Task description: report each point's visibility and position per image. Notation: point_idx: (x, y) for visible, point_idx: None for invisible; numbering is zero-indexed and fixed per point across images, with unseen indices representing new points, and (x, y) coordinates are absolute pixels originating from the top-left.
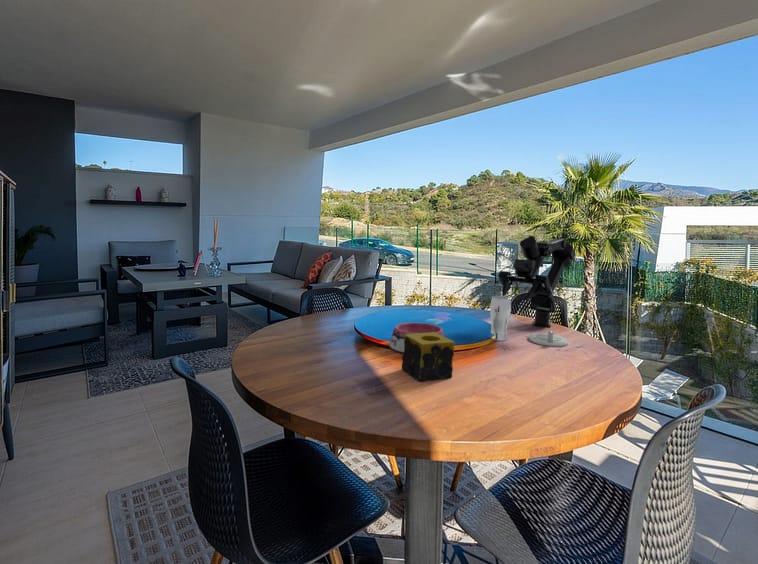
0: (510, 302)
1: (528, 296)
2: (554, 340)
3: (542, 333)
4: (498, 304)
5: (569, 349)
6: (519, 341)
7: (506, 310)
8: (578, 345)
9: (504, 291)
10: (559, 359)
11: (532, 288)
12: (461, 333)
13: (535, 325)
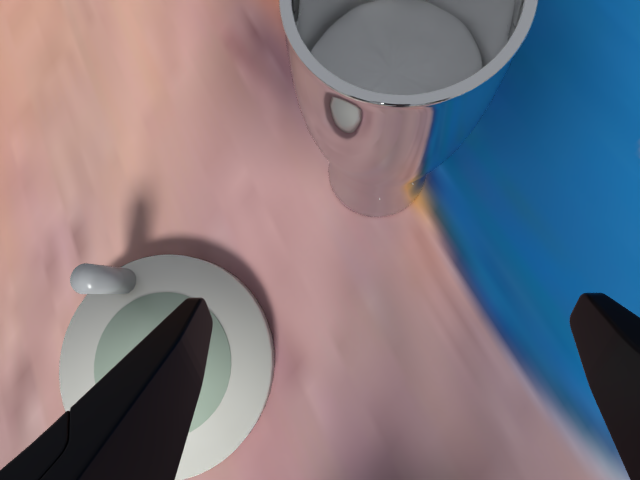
0: (287, 45)
1: (161, 329)
2: (114, 328)
3: (227, 446)
4: None
5: (43, 294)
6: (273, 219)
7: (304, 38)
8: (30, 417)
9: (620, 340)
10: (32, 100)
11: (39, 467)
12: (575, 90)
13: None
